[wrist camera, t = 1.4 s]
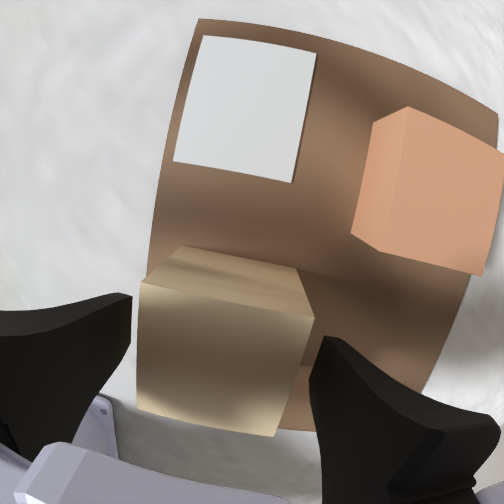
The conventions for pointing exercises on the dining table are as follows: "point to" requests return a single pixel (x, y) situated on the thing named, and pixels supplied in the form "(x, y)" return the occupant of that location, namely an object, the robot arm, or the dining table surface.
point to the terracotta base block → (429, 192)
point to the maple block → (220, 340)
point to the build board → (306, 186)
